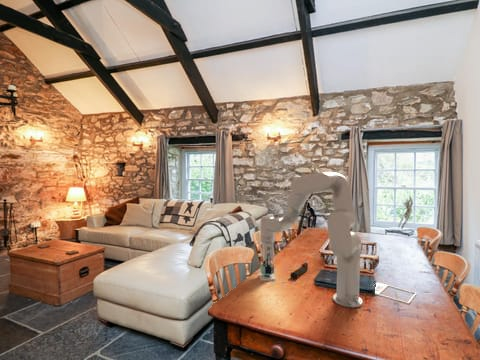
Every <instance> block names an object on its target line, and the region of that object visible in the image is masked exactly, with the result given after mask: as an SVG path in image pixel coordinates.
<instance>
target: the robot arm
mask: <svg viewBox="0 0 480 360" xmlns="http://www.w3.org/2000/svg"><path fill="white" fill-rule="evenodd" d="M290 190H291V192H290V193H289V194H288V196H287V199H286V203H287V205H288V206H287V210H286V211H285V213H284V214H283V215H282V216H279V217H278V216H277V217H275V216H272V215H263V216H261V217H260V242H261V244H262V258H263V263H266V266H265V274H271V264H272V262H274V261H275V260H274V243H275V233H277V234H279V233H282V232H284V231H287V230H290V229H291V228H292V227H293V225H294V224H295V222H296V221H297V220H298V219H299V216H300V214H301V210H302V207H303V206H304V205H305V204H306V202H307V201H308V199H309V198H310V197H311V195H312V194H315V193H321V192H328V191H332V203H333V211H331V212H330V213H329V215H328V217H327V222H326V223H327V224H326V225H327V226H326V227H327V231H328V232H327V233H328V240H329V247H330V250H331V252H332V254H334V256H336V257H337V261H336V262H337V263H336V293H334V294H333V296H332V300H333V302H334V303H336V304H337V305H340V307H341V306H342V307H345V308H346V307H347V308H353V309H354V308H359V307H361V306H362V305H363V299H362V298H361V297H360V275H361V274H360V273H361V272H360V270H361V256H362V255H361V254H362V245H363V244H362V239H361V237H360V236H359V234H357V233H356V232H354V231H351V230H352V228H354V226H355V225H356V223H357V218H356V217H357V216H356V211H355V205H354V200H353V194H352V188H351V184H350V182H349V180H348V179H347V178H346V177H345V176H344V175H342V174H340V173H337V172H335V171H325V172H324V171H323V172H321V171H320V172H316V173H312V174H307V175H304V176H298V177H295V178H293V180H292V181H291V183H290Z"/></svg>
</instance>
